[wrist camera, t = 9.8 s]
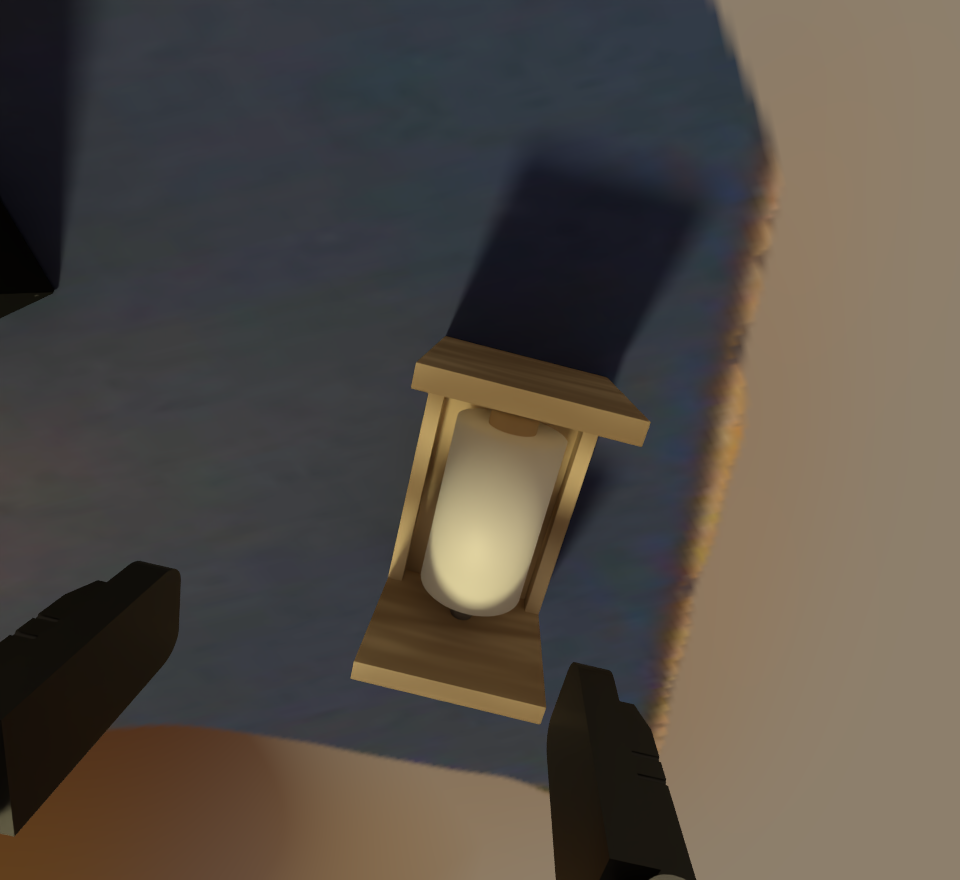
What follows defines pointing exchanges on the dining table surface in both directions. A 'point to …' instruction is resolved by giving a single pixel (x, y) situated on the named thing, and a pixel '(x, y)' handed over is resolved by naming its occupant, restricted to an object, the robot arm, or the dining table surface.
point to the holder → (516, 635)
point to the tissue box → (18, 270)
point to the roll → (490, 510)
